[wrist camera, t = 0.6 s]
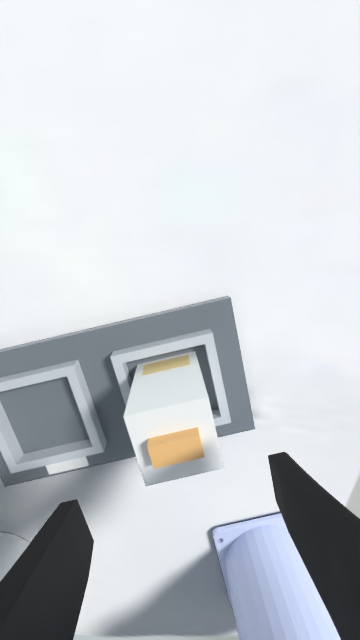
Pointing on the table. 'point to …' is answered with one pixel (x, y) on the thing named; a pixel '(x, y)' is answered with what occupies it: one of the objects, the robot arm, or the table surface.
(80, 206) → the table surface
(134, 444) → the plug
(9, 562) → the coffee cup
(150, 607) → the table surface
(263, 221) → the table surface
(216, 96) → the table surface
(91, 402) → the panel
